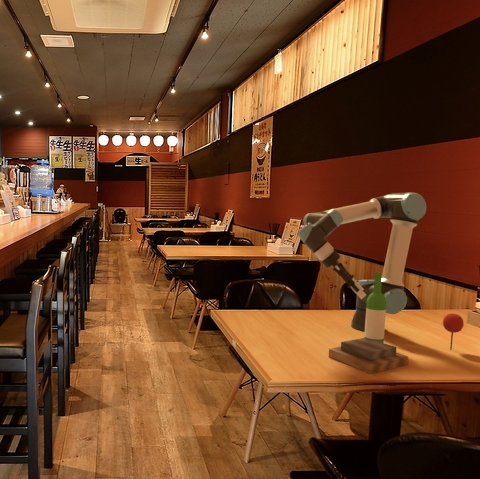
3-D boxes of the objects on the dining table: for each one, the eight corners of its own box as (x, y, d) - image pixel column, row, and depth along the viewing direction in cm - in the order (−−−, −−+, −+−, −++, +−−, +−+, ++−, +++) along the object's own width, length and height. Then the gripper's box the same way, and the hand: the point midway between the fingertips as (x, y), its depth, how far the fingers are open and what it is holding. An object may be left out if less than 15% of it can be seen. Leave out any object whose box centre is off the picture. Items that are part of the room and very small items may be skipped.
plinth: (364, 349, 185) (365, 334, 185) (407, 364, 169) (408, 348, 169) (328, 356, 174) (329, 340, 174) (371, 373, 158) (372, 356, 157)
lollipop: (460, 353, 185) (463, 316, 184) (439, 350, 189) (442, 313, 188) (462, 349, 192) (464, 313, 191) (441, 345, 195) (444, 310, 194)
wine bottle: (373, 349, 186) (378, 275, 184) (359, 343, 193) (364, 272, 191) (387, 347, 190) (392, 274, 188) (373, 341, 197) (378, 271, 195)
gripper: (321, 258, 205) (353, 294, 203) (320, 264, 181) (357, 306, 179) (334, 247, 204) (367, 283, 202) (334, 252, 179) (372, 293, 178)
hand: (362, 294), depth 191 cm, fingers open, 13 cm apart
